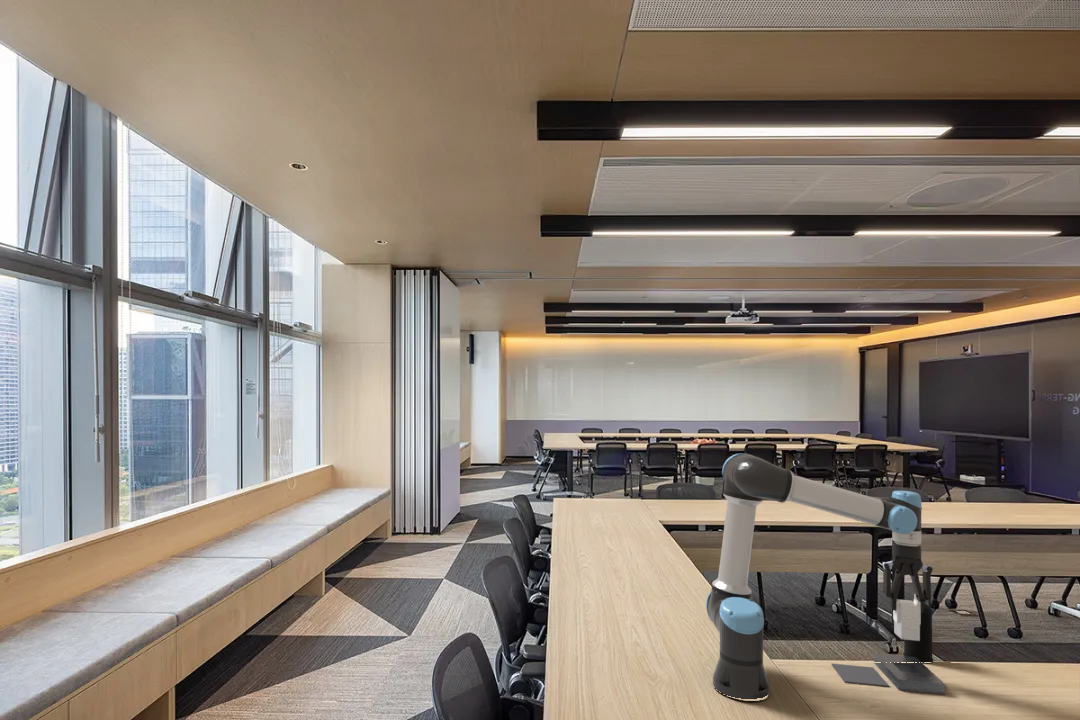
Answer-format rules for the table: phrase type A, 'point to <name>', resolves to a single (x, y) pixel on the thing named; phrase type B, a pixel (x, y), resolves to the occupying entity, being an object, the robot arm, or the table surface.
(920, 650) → the aerosol can
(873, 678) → the rubber pad
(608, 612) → the table surface
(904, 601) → the rectangular peg block
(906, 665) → the square hole plate
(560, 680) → the table surface
